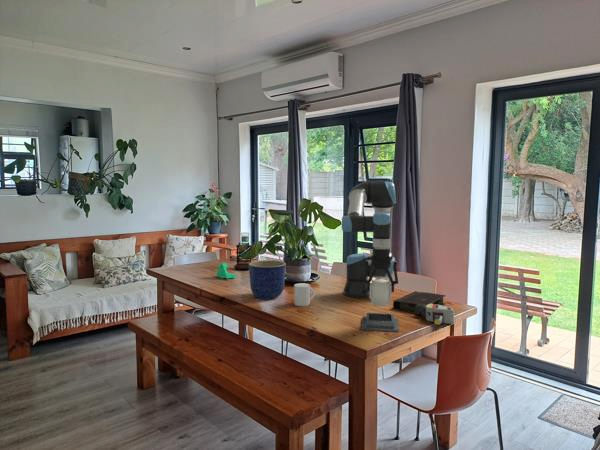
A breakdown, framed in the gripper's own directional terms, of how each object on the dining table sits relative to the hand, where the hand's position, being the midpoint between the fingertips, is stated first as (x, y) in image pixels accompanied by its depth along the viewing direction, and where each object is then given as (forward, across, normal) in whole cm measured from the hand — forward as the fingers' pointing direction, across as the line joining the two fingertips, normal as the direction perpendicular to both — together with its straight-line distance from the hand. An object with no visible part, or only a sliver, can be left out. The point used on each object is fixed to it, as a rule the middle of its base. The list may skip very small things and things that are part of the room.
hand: (380, 298), depth 196 cm
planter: (+12, -62, +39) cm, 74 cm away
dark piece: (+11, -99, +114) cm, 152 cm away
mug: (+12, -39, +29) cm, 50 cm away
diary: (+12, +21, +34) cm, 42 cm away
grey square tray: (+12, 0, 0) cm, 12 cm away
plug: (+2, 0, 0) cm, 2 cm away
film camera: (+12, +23, +9) cm, 28 cm away
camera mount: (+12, -102, +83) cm, 132 cm away
